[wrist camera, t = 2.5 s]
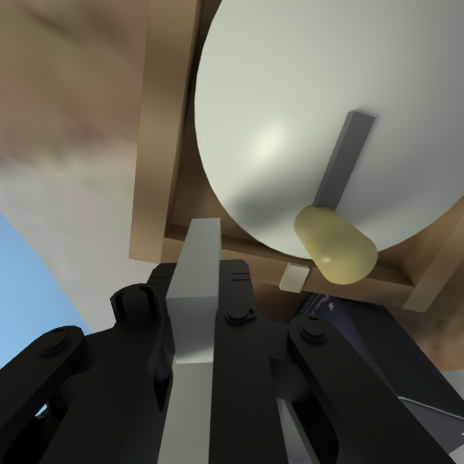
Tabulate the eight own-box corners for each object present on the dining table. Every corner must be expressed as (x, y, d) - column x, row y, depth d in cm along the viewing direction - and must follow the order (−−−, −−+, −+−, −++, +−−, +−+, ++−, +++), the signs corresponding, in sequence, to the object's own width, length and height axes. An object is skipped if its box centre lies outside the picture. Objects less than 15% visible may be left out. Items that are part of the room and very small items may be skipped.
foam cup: (259, 313, 22) (299, 527, 11) (230, 378, 26) (235, 592, 14) (157, 290, 21) (70, 506, 9) (141, 361, 25) (63, 584, 13)
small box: (319, 271, 21) (401, 396, 11) (379, 295, 22) (498, 427, 12) (262, 351, 25) (287, 497, 15) (316, 368, 26) (370, 512, 16)
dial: (237, -146, 10) (256, -522, 4) (560, -14, 12) (875, -144, 6) (178, 220, 17) (153, 272, 11) (395, 265, 19) (473, 329, 13)
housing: (193, -220, 10) (177, -404, 7) (597, -44, 13) (738, -108, 9) (145, 235, 19) (126, 261, 15) (394, 285, 22) (428, 316, 18)
